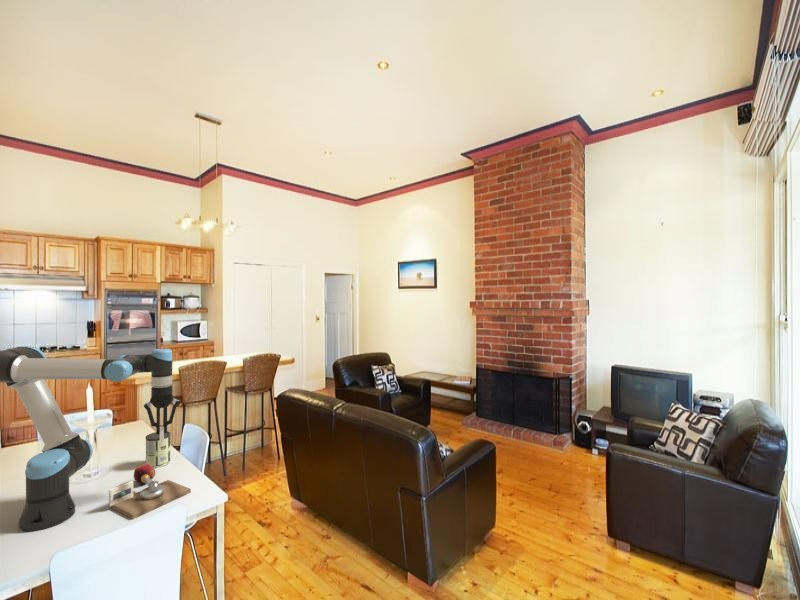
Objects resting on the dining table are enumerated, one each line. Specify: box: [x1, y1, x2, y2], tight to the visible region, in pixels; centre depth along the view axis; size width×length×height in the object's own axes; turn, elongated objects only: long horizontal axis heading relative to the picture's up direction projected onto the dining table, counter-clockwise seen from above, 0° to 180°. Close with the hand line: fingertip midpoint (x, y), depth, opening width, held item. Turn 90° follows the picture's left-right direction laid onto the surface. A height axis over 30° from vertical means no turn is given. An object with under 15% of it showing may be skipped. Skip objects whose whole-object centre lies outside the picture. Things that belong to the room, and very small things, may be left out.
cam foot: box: [139, 474, 164, 500], centre depth 156 cm, size 14×8×5 cm, turn 49°
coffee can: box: [145, 430, 171, 469], centre depth 186 cm, size 10×10×14 cm
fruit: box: [133, 463, 156, 485], centre depth 167 cm, size 8×8×8 cm
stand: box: [108, 479, 192, 520], centre depth 153 cm, size 23×16×8 cm
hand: (161, 441), depth 161 cm, fingers closed
